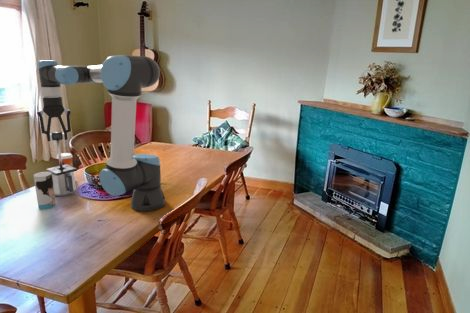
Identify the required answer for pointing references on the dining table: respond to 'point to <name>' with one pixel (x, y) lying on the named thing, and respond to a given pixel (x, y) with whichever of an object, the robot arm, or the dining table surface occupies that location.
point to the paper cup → (65, 159)
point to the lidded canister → (63, 180)
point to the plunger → (58, 145)
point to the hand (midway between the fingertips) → (58, 147)
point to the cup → (44, 190)
